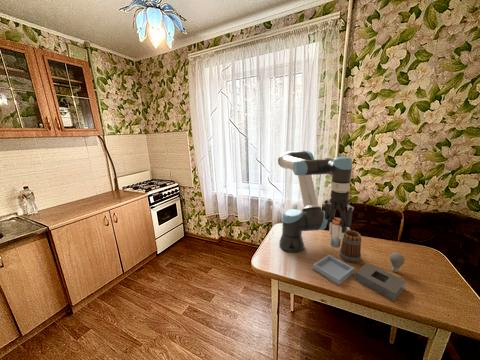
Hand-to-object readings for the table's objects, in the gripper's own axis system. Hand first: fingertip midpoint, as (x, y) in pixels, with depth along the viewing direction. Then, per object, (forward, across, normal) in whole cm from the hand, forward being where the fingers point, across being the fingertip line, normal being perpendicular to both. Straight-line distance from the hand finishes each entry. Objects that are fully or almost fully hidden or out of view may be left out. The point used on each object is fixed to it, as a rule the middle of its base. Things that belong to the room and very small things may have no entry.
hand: (336, 235), depth 97 cm
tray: (+20, 0, 0) cm, 20 cm away
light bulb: (+20, +18, +25) cm, 37 cm away
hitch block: (+20, +17, +9) cm, 28 cm away
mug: (+20, -3, +20) cm, 29 cm away
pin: (+5, 0, 0) cm, 5 cm away
